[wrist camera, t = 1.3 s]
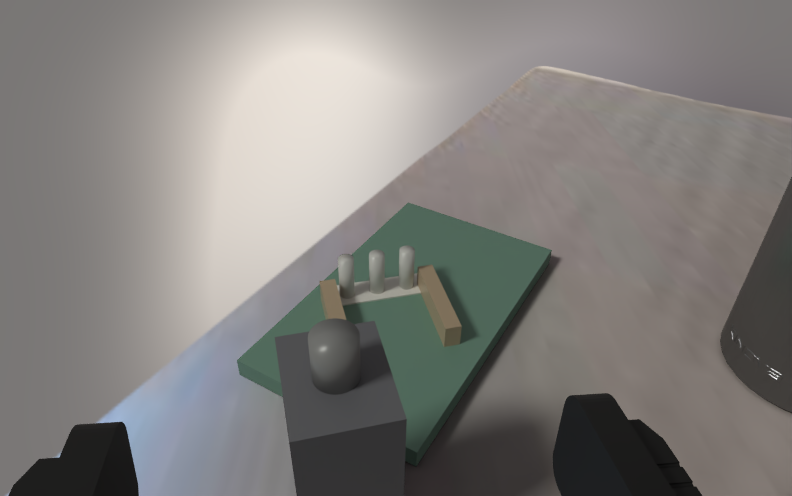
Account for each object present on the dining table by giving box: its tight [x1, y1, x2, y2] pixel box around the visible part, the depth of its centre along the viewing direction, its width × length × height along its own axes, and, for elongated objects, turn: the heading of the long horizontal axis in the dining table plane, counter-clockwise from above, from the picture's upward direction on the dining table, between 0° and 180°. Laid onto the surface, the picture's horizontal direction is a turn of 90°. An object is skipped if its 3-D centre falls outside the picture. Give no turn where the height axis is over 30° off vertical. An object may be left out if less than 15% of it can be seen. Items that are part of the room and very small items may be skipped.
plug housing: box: [275, 318, 407, 496], centre depth 26 cm, size 4×5×13 cm
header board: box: [237, 203, 552, 466], centre depth 41 cm, size 20×12×4 cm, turn 149°
